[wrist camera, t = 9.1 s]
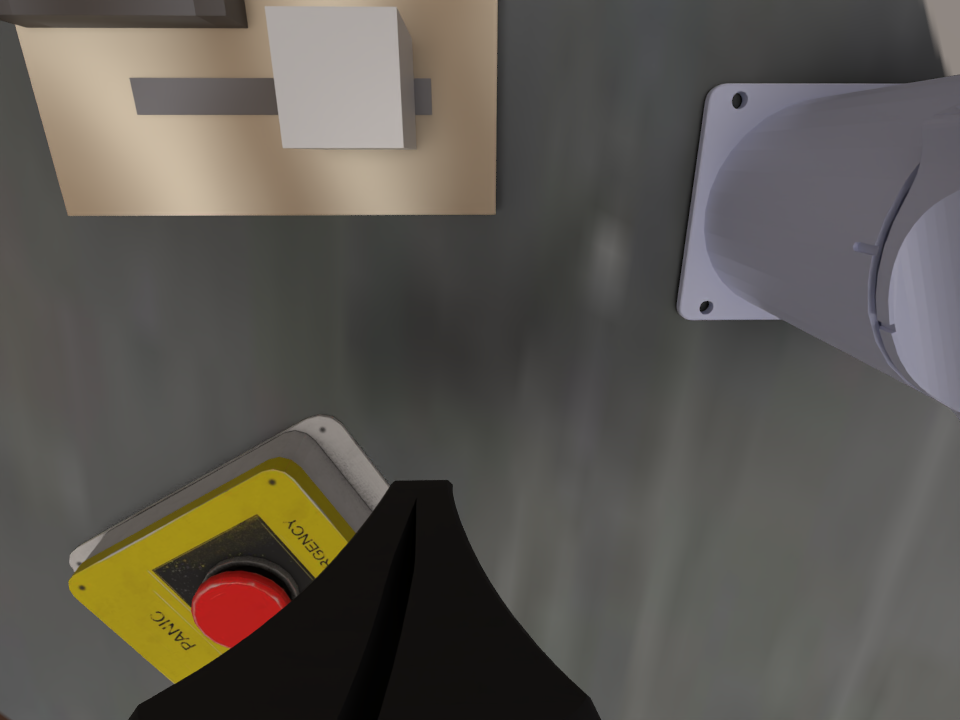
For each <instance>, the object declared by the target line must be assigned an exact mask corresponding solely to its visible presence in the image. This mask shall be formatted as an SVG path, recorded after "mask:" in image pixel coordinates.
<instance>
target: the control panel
mask: <svg viewBox="0 0 960 720" xmlns="http://www.w3.org/2000/svg"><path fill="white" fill-rule="evenodd" d="M265 6H335V7H397V9H398V11H399V13H400V15H401V17H402V19H403V21H404V23H405V25H406V27H407V29H408V31H409V34H410V36H411V38H412V51H413V75H414V99H415V123H416V147H417V150H315V149H291V148H283V146H282V138H281V131H280V123H279V115H278V107H277V99H276V91H275V84H274V76H273V68H272V60H271V52H270V45H269V37H268V29H267V21H266V13H265ZM497 10H498V0H0V20H2V21H5V22H8V23H12V24H15V26H16V30H17V33H18V37H19V40H20V44H21V48H22V51H23V55H24V58H25V62H26V65H27V69H28V73H29V76H30V80H31V83H32V87H33V91H34V94H35V98H36V101H37V105H38V109H39V112H40V116H41V119H42V123H43V127H44V130H45V134H46V137H47V141H48V145H49V148H50V152H51V155H52V159H53V163H54V166H55V170H56V173H57V177H58V181H59V184H60V188H61V191H62V195H63V199H64V202H65V206H66V209H67V213H68V216H182V215H496V115H497Z"/></svg>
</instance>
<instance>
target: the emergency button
mask: <svg viewBox="0 0 960 720" xmlns="http://www.w3.org/2000/svg"><path fill="white" fill-rule="evenodd" d="M389 487H390V485H389V484H388V483H387V481H386V480H385V479H384V477H383V476H382V475H381V473H380V472H379V471H378V470H377V468H376V467H375V466H374V464H373V463H372V462H371V460H370V459H369V458H368V456H367V455H366V454H365V453H364V451H363V450H362V449H361V447H360V446H359V445H358V443H357V442H356V441H355V440H354V438H353V437H352V436H351V434H350V433H349V432H348V430H347V429H346V428H345V426H344V425H343V424H342V423H341V422H340V421H338V420H337V419H336V418H334V417H333V416H328V415H321V414H318V415H315V416H312V417H308V418H306V419H304V420H302V421H300V422H299V423H297V424H295V425H293V426H291V427H290V428H288V429H286V430H284V431H282V432H281V433H279V434H277V435H275V436H274V437H272V438H270V439H268V440H266V441H265V442H263V443H261V444H259V445H257V446H256V447H254V448H252V449H250V450H249V451H247V452H245V453H243V454H241V455H240V456H238V457H236V458H234V459H232V460H231V461H229V462H227V463H225V464H224V465H222V466H220V467H218V468H216V469H215V470H213V471H211V472H209V473H207V474H206V475H204V476H202V477H200V478H199V479H197V480H195V481H193V482H191V483H190V484H188V485H186V486H184V487H182V488H181V489H179V490H177V491H175V492H173V493H172V494H170V495H168V496H166V497H165V498H163V499H161V500H159V501H157V502H156V503H154V504H152V505H150V506H148V507H147V508H145V509H143V510H141V511H140V512H138V513H136V514H134V515H132V516H131V517H129V518H127V519H125V520H123V521H122V522H120V523H118V524H116V525H115V526H113V527H111V528H109V529H107V530H106V531H104V532H102V533H100V534H98V535H97V536H95V537H93V538H91V539H90V540H88V541H86V542H84V543H82V544H81V545H79V546H78V547H77V548H76V549H75V550H74V551H73V552H72V553H71V554H70V562H69V564H70V565H71V567H72V568H73V570H74V571H75V573H74V574H73V575H72V577H71V578H70V580H69V590H70V591H71V592H72V594H73V595H74V596H75V598H76V599H78V600H79V601H80V602H81V603H82V604H83V605H84V606H86V607H87V608H88V609H89V610H90V611H91V612H92V613H94V614H95V615H96V616H97V617H98V618H99V619H100V620H102V621H103V622H104V623H105V624H106V625H107V626H108V627H110V628H111V629H112V630H113V631H114V632H115V633H117V634H118V635H119V636H120V637H121V638H122V639H123V640H125V641H126V642H127V643H128V644H129V645H130V646H131V647H133V648H134V649H135V650H136V651H137V652H138V653H139V654H141V655H142V656H143V657H144V658H145V659H146V660H147V661H149V662H150V663H151V664H152V665H153V666H154V667H155V668H157V669H158V670H159V671H160V672H161V673H162V674H164V675H165V676H166V677H167V678H168V679H169V680H170V681H172V682H173V683H174V684H175V683H177V682H179V681H180V680H182V679H184V678H185V677H187V676H189V675H190V674H192V673H194V672H196V671H197V670H199V669H200V668H202V667H203V666H205V665H206V664H208V663H210V662H211V661H213V660H214V659H216V658H217V657H219V656H220V655H222V654H223V653H224V652H226V651H227V650H229V649H230V648H232V647H233V646H235V645H236V644H238V643H239V642H240V641H242V640H243V639H244V638H246V637H247V636H249V635H250V634H251V633H253V632H254V631H255V630H257V629H258V628H259V627H261V626H262V625H263V624H264V623H265V622H267V621H268V620H269V619H270V618H272V617H273V616H274V615H275V614H277V613H278V612H279V611H280V610H281V609H283V608H284V607H285V606H286V605H287V604H288V603H290V602H291V601H292V600H293V599H294V598H295V597H296V596H298V595H299V594H300V593H301V592H302V591H303V590H304V589H305V588H306V587H307V586H308V585H309V584H310V583H311V582H312V581H313V580H314V579H315V578H316V577H317V576H318V575H319V574H320V573H321V572H322V571H323V570H324V569H325V568H326V567H327V566H328V565H329V564H330V563H331V562H332V560H333V559H334V558H335V557H336V556H337V555H338V554H339V552H340V551H341V550H342V549H343V548H344V547H345V546H346V545H347V543H348V542H349V541H350V540H351V539H352V537H353V536H354V535H355V534H356V532H357V531H358V530H359V529H360V527H361V526H362V525H363V523H364V522H365V521H366V520H367V518H368V517H369V516H370V514H371V513H372V512H373V510H374V509H375V507H376V506H377V505H378V503H379V502H380V500H381V499H382V497H383V496H384V494H385V493H386V491H387V490H388V488H389Z"/></svg>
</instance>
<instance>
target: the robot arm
mask: <svg viewBox="0 0 960 720" xmlns="http://www.w3.org/2000/svg"><path fill="white" fill-rule="evenodd" d="M736 93H739V94H740V95H741V97H742V103H741V106H740V107H739V108H738V109H735V108H734V107H733V105H732V98H733V96H734V95H735V94H736ZM704 301H709V306H708V308H707V309H706V310H705V311H702V312H700V309H699V307H700V305H701V304H702V303H703V302H704ZM677 311H678V313H679V315H681V316H682V317H683V318H685V319H687V320H784V321H785V322H787V323H789V324H791V325H793V326H795V327H797V328H799V329H801V330H803V331H805V332H807V333H808V334H810V335H812V336H814V337H816V338H818V339H820V340H822V341H824V342H826V343H828V344H829V345H831V346H833V347H835V348H837V349H839V350H841V351H843V352H845V353H847V354H849V355H851V356H852V357H854V358H856V359H858V360H860V361H862V362H864V363H866V364H868V365H870V366H872V367H873V368H875V369H877V370H879V371H881V372H883V373H885V374H887V375H889V376H891V377H893V378H895V379H896V380H898V381H900V382H902V383H904V384H906V385H908V386H910V387H912V388H914V389H916V390H917V391H919V392H921V393H923V394H925V395H927V396H930V397H931V398H933V399H935V400H937V401H939V402H941V403H942V404H944V405H946V406H947V407H949V408H950V409H951V410H952V411H953V412H954V413H955V414H956V416H957V417H958V419H959V421H960V75H954V76H948V77H942V78H936V79H930V80H924V81H918V82H912V83H906V84H867V83H726V84H721V85H717V86H715V87H714V88H712V89H711V90H710V92H709V93H708V94H707V97H706V100H705V105H704V112H703V120H702V127H701V134H700V141H699V148H698V155H697V163H696V170H695V177H694V184H693V191H692V198H691V205H690V213H689V220H688V227H687V234H686V241H685V248H684V256H683V263H682V270H681V277H680V284H679V291H678V298H677ZM128 720H601V718H600V716H599V714H598V712H597V710H596V708H595V706H594V704H593V702H592V700H591V698H590V697H589V696H588V695H587V694H586V693H584V692H583V691H582V690H581V689H580V688H579V687H578V686H577V685H576V684H575V683H574V682H572V681H571V680H570V679H569V678H568V677H567V676H566V675H565V674H564V673H563V672H562V671H561V670H560V669H559V668H558V667H557V666H556V665H555V664H554V663H553V661H552V660H551V659H550V658H549V657H548V656H547V655H546V654H545V653H544V652H543V651H542V650H541V649H540V647H539V646H538V645H537V644H536V643H535V642H534V640H533V639H532V638H531V637H530V636H529V634H528V633H527V632H526V631H525V629H524V628H523V627H522V626H521V624H520V623H519V622H518V621H517V620H516V618H515V617H514V616H513V615H512V613H511V612H510V610H509V609H508V608H507V606H506V605H505V603H504V602H503V601H502V599H501V598H500V596H499V595H498V593H497V592H496V590H495V588H494V587H493V585H492V584H491V582H490V581H489V579H488V577H487V575H486V574H485V572H484V570H483V568H482V567H481V565H480V563H479V561H478V559H477V557H476V555H475V553H474V551H473V549H472V547H471V545H470V543H469V541H468V538H467V536H466V533H465V531H464V529H463V526H462V524H461V521H460V518H459V515H458V512H457V509H456V506H455V502H454V497H453V484H451V483H450V482H449V481H448V480H417V481H394V482H393V483H392V484H391V485H390V487H389V488H388V490H387V491H386V493H385V494H384V496H383V497H382V499H381V500H380V502H379V503H378V505H377V506H376V507H375V509H374V510H373V512H372V513H371V514H370V516H369V517H368V518H367V520H366V521H365V522H364V523H363V525H362V526H361V527H360V529H359V530H358V531H357V532H356V534H355V535H354V536H353V537H352V539H351V540H350V541H349V542H348V543H347V545H346V546H345V547H344V548H343V549H342V550H341V551H340V552H339V554H338V555H337V556H336V557H335V558H334V559H333V560H332V562H331V563H330V564H329V565H328V566H327V567H326V568H325V569H324V570H323V571H322V572H321V573H320V574H319V575H318V576H317V577H316V578H315V579H314V580H313V581H312V582H311V583H310V584H309V585H308V586H307V587H306V588H305V589H304V590H303V591H302V592H301V593H300V594H299V595H298V596H296V597H295V598H294V599H293V600H292V601H291V602H290V603H288V604H287V605H286V606H285V607H284V608H283V609H281V610H280V611H279V612H278V613H277V614H275V615H274V616H273V617H272V618H270V619H269V620H268V621H267V622H265V623H264V624H263V625H262V626H261V627H259V628H258V629H257V630H255V631H254V632H253V633H251V634H250V635H249V636H247V637H246V638H244V639H243V640H242V641H240V642H239V643H238V644H236V645H235V646H233V647H232V648H230V649H229V650H227V651H226V652H224V653H223V654H222V655H220V656H219V657H217V658H216V659H214V660H213V661H211V662H210V663H208V664H206V665H205V666H203V667H202V668H200V669H199V670H197V671H196V672H194V673H192V674H190V675H189V676H187V677H185V678H184V679H182V680H180V681H179V682H177V683H175V684H174V685H172V686H170V687H169V688H167V689H165V690H164V691H162V692H160V693H158V694H157V695H155V696H153V697H152V698H150V699H148V700H146V701H145V702H143V703H141V704H139V705H138V706H137V708H136V709H135V711H134V712H133V714H132V715H131V716H130V718H129V719H128Z"/></svg>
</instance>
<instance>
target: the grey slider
mask: <svg viewBox="0 0 960 720" xmlns="http://www.w3.org/2000/svg"><path fill="white" fill-rule="evenodd" d="M265 13H266V21H267V29H268V37H269V45H270V52H271V60H272V68H273V76H274V84H275V91H276V99H277V107H278V115H279V123H280V131H281V138H282V146H283V148H291V149H315V150H417V147H416V123H415V99H414V75H413V51H412V38H411V36H410V34H409V31H408V29H407V27H406V25H405V23H404V21H403V19H402V17H401V15H400V13H399V11H398V9H397V7H335V6H265Z"/></svg>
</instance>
